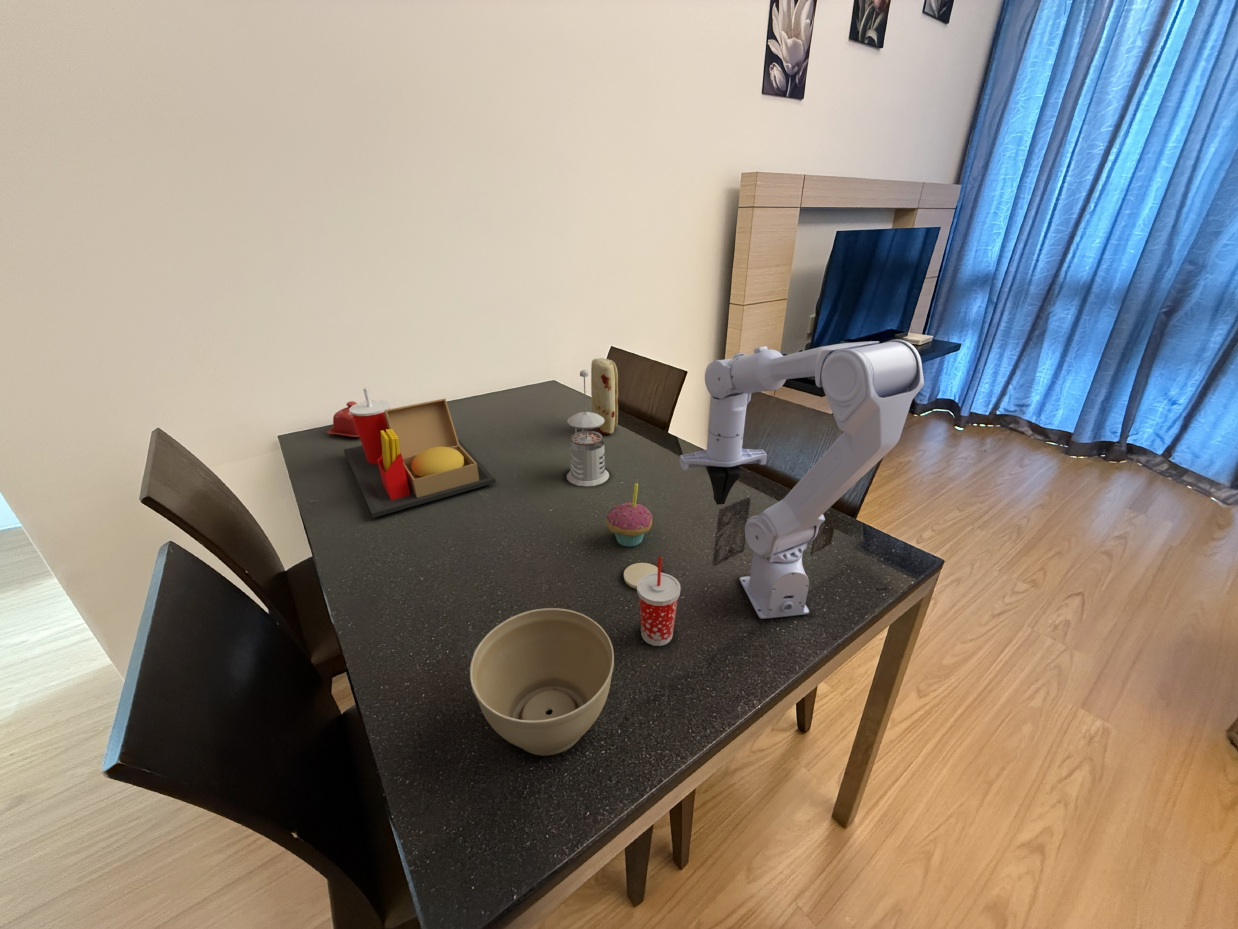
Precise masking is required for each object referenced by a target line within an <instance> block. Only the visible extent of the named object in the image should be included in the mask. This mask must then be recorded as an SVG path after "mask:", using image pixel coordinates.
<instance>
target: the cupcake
mask: <svg viewBox="0 0 1238 929" xmlns="http://www.w3.org/2000/svg"><path fill="white" fill-rule="evenodd" d="M638 481H639V479H636V482H635V483H634V485H633V494H632V502H629V501H628V502H627V501H626V502H622V503H619V504H616V505H615V506H614V507H612V509H610V510H609V511H608V512H607V516H606V522H605V523H606V524H605V525H606V527H607V528H608V530H609V531H610V532H611V533H613V534H614V537H615V539H616V541H617V543H618V544H619V545H621V546H623V547H635V546H638V545H640V544H641V543H642V542H643V538H644V536H645V533H648V532H649V531H650V530H651V527H652V525H653V518H654V516H653V514H652V512H651V511H650V509H649V508H647V507H646V506H645V505H644V504H641V503H637V499H638V498H637V496H638V490H639V483H638Z"/></svg>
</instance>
